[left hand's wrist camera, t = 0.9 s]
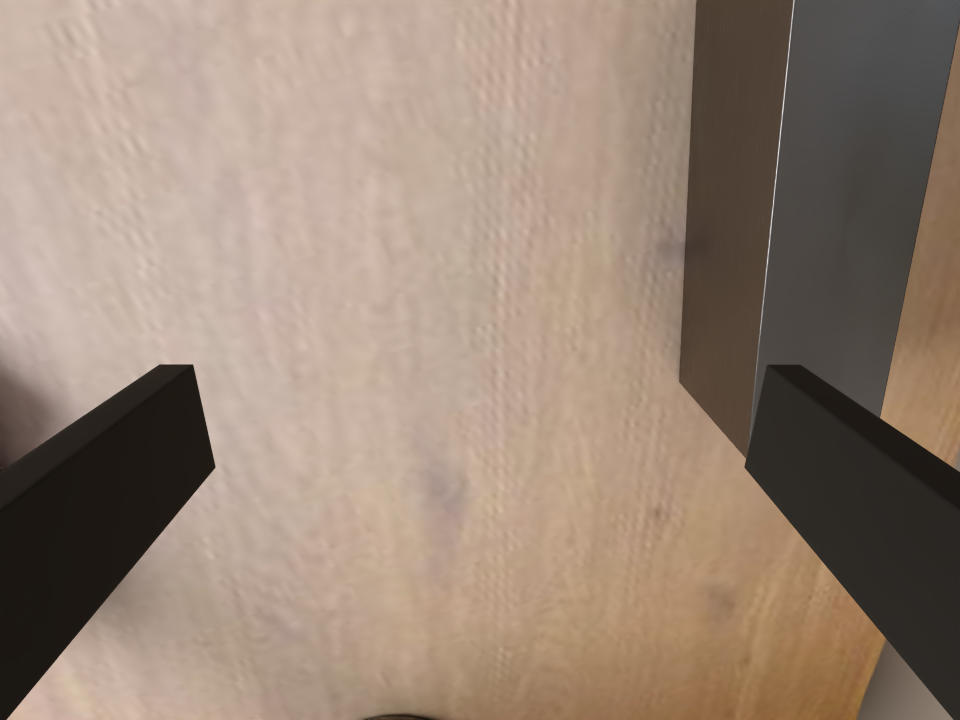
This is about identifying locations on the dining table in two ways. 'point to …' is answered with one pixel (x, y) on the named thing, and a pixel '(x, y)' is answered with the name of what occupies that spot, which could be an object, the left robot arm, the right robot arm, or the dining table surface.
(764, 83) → the box
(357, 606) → the dining table surface
